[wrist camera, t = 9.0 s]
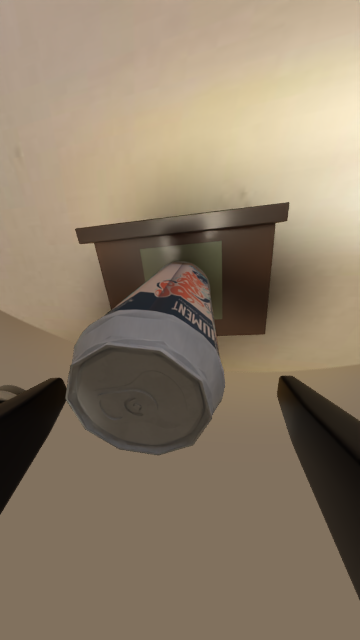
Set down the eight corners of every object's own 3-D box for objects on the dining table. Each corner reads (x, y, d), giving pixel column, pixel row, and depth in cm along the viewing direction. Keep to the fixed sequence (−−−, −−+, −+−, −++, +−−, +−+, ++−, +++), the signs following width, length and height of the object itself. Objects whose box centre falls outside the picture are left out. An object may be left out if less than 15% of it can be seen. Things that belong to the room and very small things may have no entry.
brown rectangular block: (256, 321, 20) (272, 346, 15) (129, 326, 22) (109, 350, 17) (264, 211, 16) (289, 201, 11) (107, 230, 18) (74, 228, 13)
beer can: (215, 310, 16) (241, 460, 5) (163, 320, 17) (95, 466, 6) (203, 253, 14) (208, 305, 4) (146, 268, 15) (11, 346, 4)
